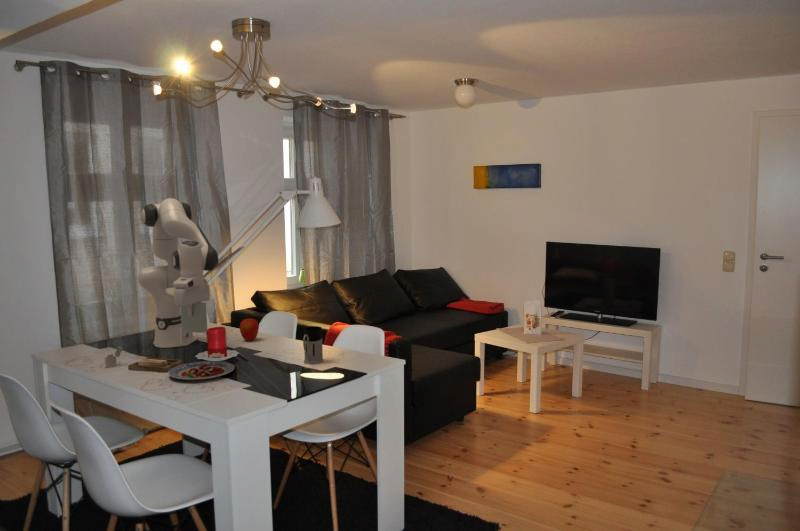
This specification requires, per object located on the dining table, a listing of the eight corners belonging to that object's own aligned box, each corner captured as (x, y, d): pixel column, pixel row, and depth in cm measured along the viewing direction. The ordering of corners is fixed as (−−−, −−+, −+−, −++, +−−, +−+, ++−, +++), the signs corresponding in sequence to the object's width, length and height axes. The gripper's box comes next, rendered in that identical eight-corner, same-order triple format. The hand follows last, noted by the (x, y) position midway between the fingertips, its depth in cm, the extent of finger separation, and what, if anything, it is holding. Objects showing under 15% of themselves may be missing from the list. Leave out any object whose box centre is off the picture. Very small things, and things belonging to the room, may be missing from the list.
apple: (236, 341, 312) (235, 318, 311) (248, 337, 320) (247, 314, 319) (251, 343, 308) (250, 319, 307) (262, 339, 316) (262, 316, 315)
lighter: (106, 367, 266) (105, 349, 265) (105, 367, 267) (104, 348, 266) (123, 364, 271) (122, 346, 270) (121, 363, 272) (120, 345, 272)
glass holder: (326, 359, 277) (326, 326, 275) (314, 368, 263) (313, 333, 262) (308, 358, 279) (307, 325, 277) (294, 367, 266) (294, 332, 264)
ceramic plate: (211, 362, 274) (210, 356, 274) (247, 373, 258) (247, 366, 257) (156, 376, 254) (155, 369, 254) (191, 388, 238) (191, 380, 238)
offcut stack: (144, 366, 268) (143, 358, 268) (168, 368, 266) (168, 360, 266) (136, 370, 263) (136, 361, 263) (161, 371, 261) (161, 363, 261)
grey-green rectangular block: (186, 330, 259) (184, 301, 258) (207, 331, 256) (206, 302, 255) (181, 331, 256) (180, 302, 255) (203, 332, 254) (201, 303, 252)
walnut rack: (147, 361, 275) (147, 357, 275) (183, 364, 270) (183, 360, 270) (128, 369, 263) (128, 365, 263) (165, 372, 258) (165, 367, 258)
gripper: (200, 277, 265) (201, 310, 266) (170, 283, 246) (171, 318, 247) (213, 278, 263) (214, 310, 265) (184, 284, 244) (185, 319, 245)
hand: (193, 314), depth 256 cm, fingers closed on grey-green rectangular block, 3 cm apart
